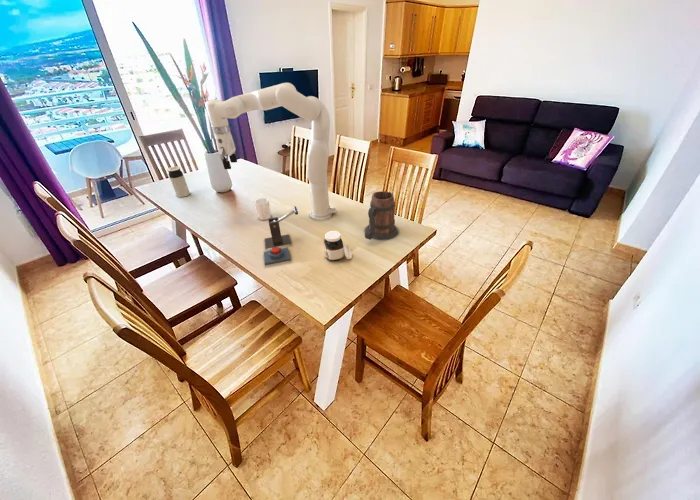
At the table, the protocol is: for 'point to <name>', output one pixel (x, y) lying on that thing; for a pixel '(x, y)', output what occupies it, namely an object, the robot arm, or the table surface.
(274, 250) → the red push button
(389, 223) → the tankard
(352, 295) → the table surface
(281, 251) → the button box
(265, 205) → the white cup
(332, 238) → the spread jar
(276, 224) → the bracket
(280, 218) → the tap lever
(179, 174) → the travel mug
